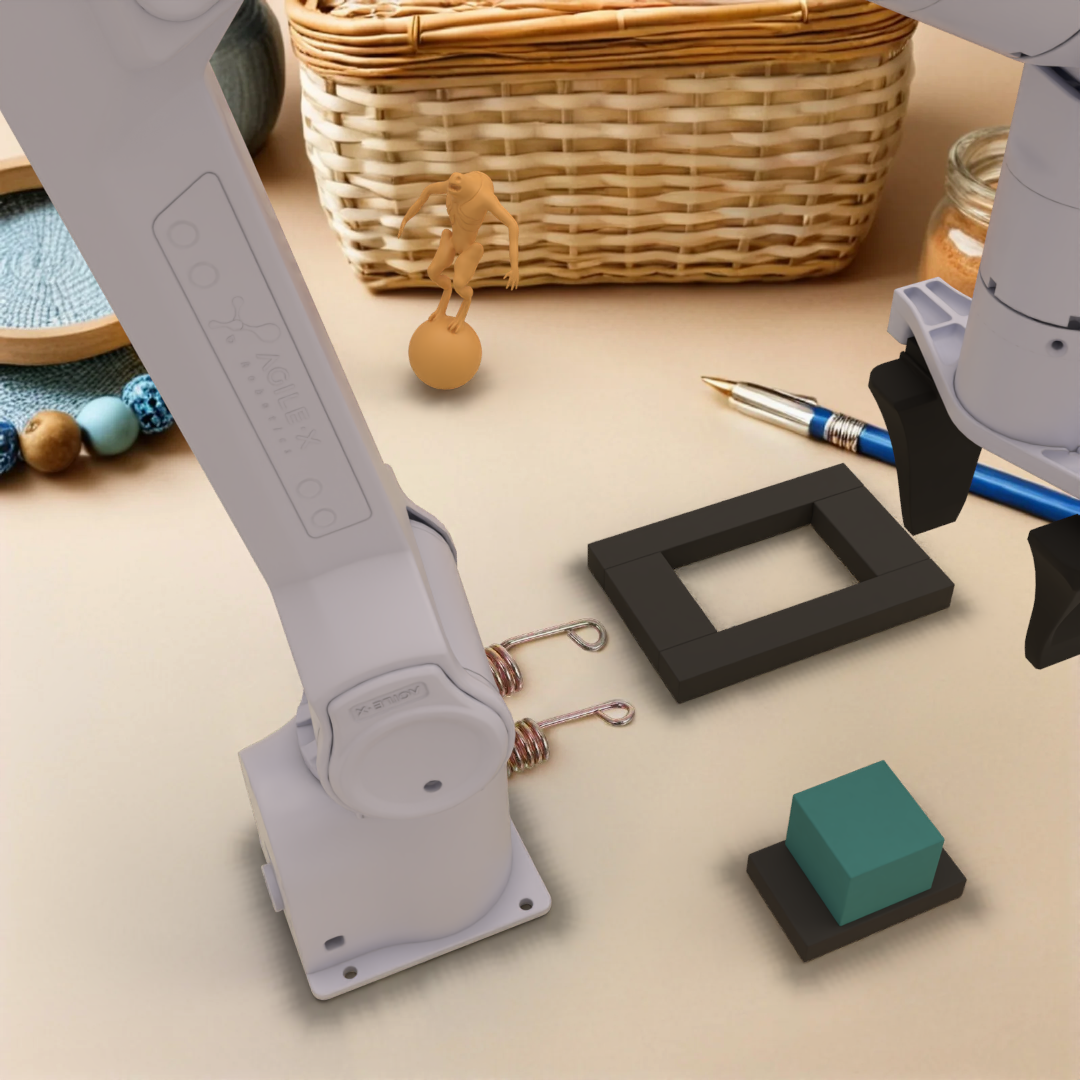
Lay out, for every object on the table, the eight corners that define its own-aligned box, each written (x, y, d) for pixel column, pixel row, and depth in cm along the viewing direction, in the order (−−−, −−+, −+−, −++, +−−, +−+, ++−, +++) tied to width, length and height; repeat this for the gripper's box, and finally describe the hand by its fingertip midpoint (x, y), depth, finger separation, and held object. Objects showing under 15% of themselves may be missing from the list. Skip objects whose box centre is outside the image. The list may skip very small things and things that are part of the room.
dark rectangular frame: (678, 704, 63) (679, 681, 62) (587, 566, 69) (586, 543, 68) (949, 607, 67) (955, 584, 66) (840, 484, 73) (843, 461, 72)
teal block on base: (803, 964, 54) (816, 898, 51) (745, 871, 57) (754, 803, 54) (962, 896, 55) (983, 829, 52) (897, 810, 58) (914, 741, 55)
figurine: (368, 370, 81) (343, 177, 72) (442, 321, 84) (426, 131, 76) (479, 429, 77) (466, 231, 68) (552, 375, 80) (548, 180, 72)
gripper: (1350, 373, 41) (1209, 685, 51) (1031, 149, 51) (962, 445, 61) (1154, 439, 40) (1044, 751, 49) (861, 193, 49) (816, 493, 59)
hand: (988, 586), depth 55 cm, fingers open, 7 cm apart
